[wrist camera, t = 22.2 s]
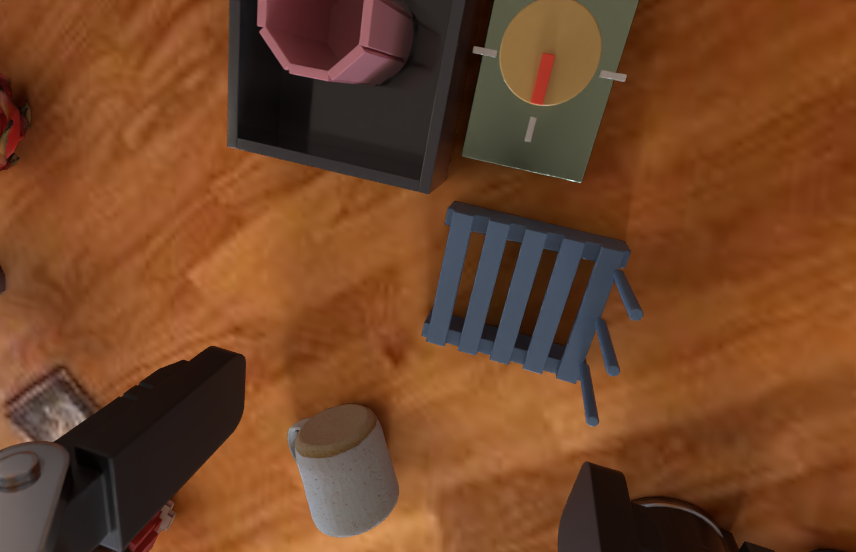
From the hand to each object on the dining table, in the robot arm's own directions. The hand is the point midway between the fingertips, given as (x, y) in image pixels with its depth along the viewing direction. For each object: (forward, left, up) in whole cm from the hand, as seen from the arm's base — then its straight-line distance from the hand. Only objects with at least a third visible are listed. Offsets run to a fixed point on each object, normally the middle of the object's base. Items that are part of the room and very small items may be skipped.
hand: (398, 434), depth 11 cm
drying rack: (-3, +5, -24) cm, 25 cm away
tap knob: (-1, -10, -21) cm, 23 cm away
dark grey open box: (+11, -10, -24) cm, 28 cm away
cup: (+11, -9, -24) cm, 27 cm away
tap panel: (-1, -10, -24) cm, 26 cm away
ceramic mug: (+8, +24, -24) cm, 35 cm away
